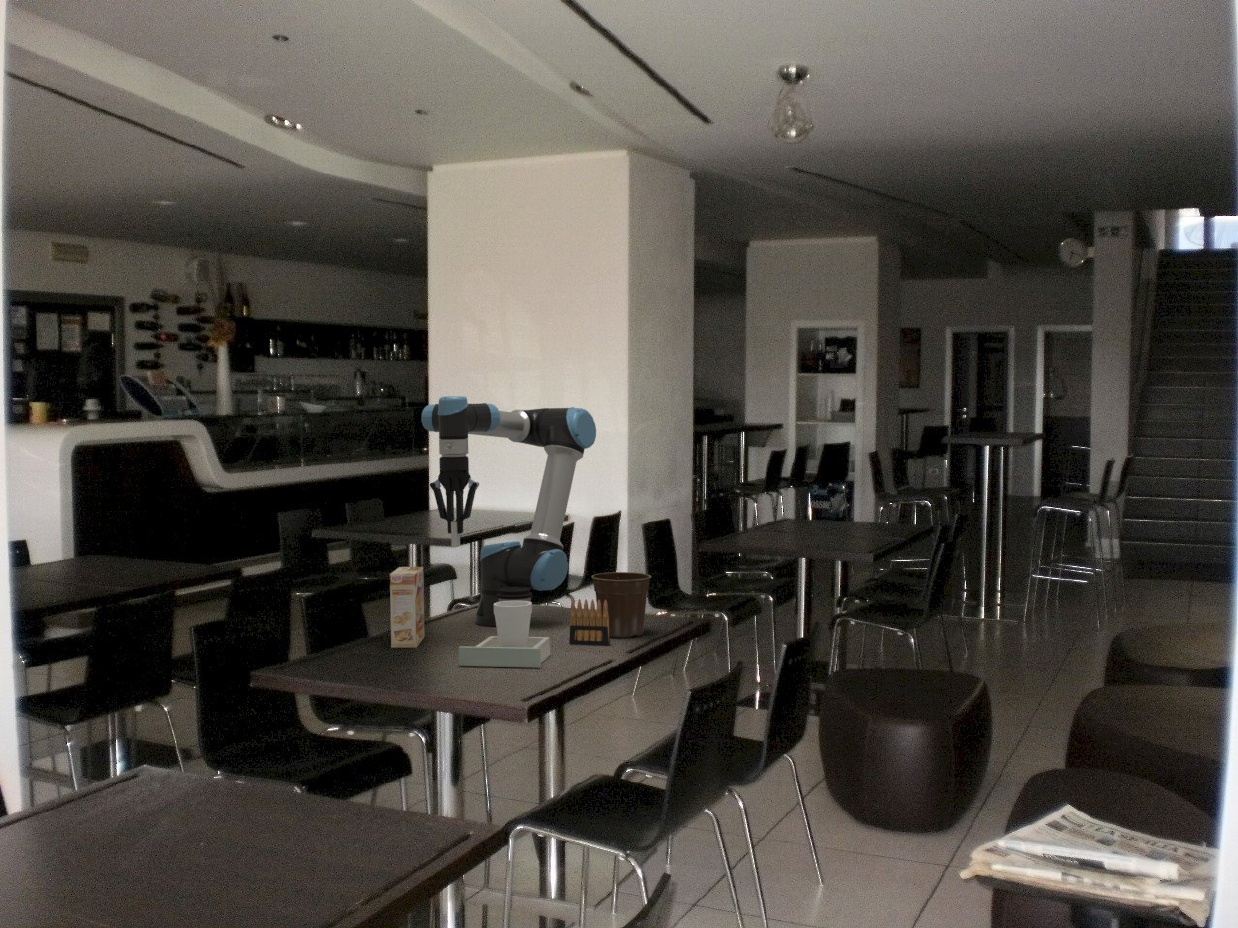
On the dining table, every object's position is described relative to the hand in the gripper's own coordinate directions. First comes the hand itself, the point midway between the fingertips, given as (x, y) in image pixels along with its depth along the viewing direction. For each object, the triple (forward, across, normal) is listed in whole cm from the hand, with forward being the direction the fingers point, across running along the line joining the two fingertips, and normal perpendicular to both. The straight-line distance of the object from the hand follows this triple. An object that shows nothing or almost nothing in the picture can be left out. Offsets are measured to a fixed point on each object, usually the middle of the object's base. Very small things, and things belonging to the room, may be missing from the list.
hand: (455, 545), depth 322 cm
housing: (+26, +19, -16) cm, 36 cm away
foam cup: (+26, +19, -16) cm, 36 cm away
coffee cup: (+27, +15, +2) cm, 31 cm away
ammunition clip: (+27, +34, +6) cm, 44 cm away
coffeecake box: (+27, -15, +4) cm, 31 cm away
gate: (+26, +18, -23) cm, 39 cm away
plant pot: (+27, +40, +21) cm, 52 cm away
